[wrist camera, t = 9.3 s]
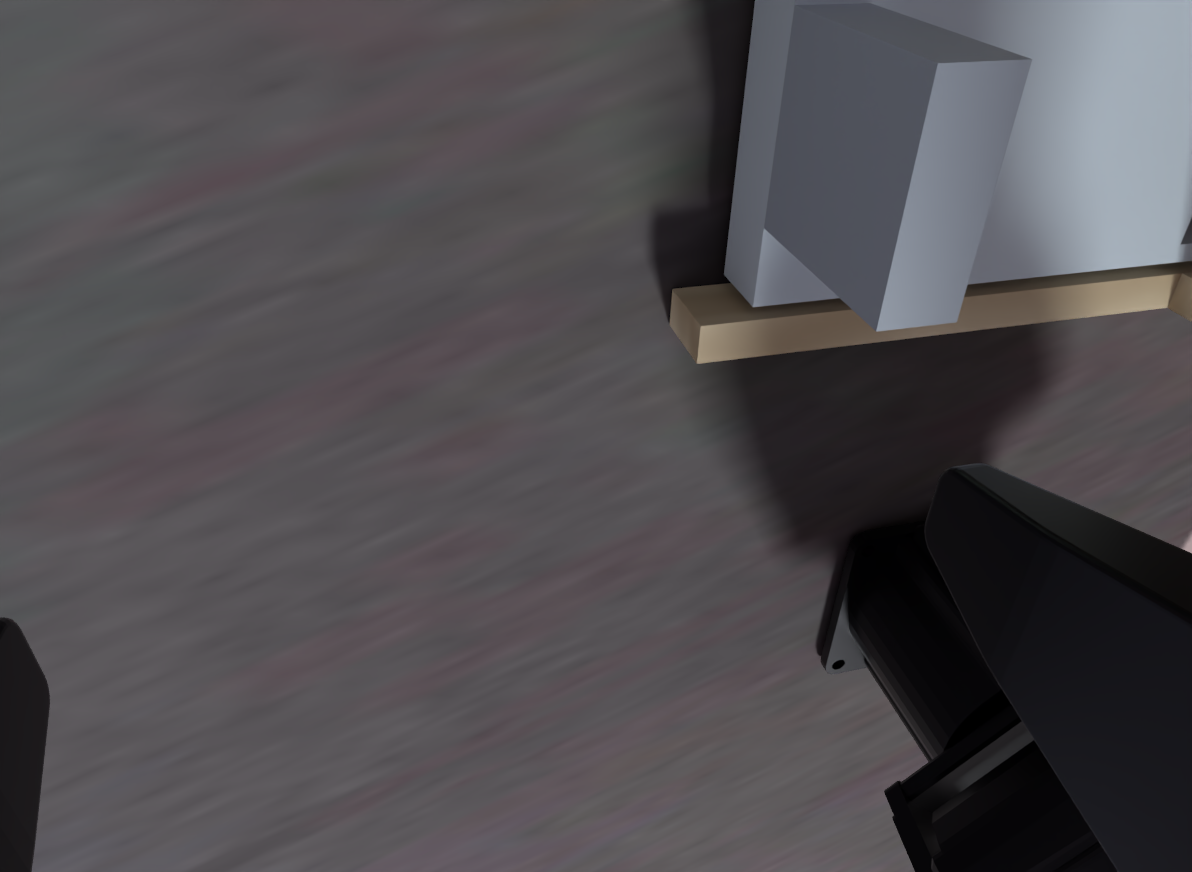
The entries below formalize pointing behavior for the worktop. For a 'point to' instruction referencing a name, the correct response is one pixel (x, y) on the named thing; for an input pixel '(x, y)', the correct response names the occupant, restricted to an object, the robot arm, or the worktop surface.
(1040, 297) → the board
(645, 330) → the worktop surface
